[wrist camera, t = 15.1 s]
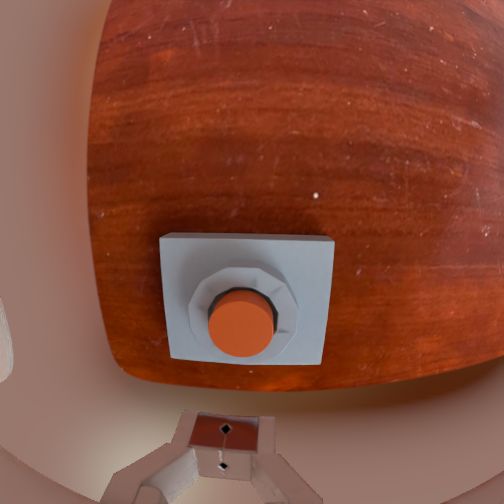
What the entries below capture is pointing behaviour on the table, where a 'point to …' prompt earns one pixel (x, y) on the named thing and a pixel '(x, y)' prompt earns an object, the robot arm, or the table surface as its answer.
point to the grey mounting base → (252, 279)
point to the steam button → (241, 323)
